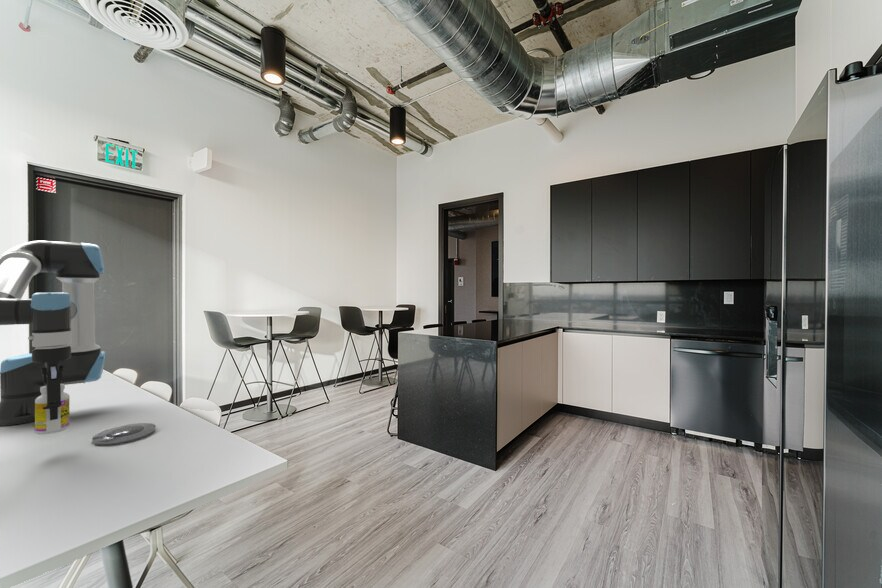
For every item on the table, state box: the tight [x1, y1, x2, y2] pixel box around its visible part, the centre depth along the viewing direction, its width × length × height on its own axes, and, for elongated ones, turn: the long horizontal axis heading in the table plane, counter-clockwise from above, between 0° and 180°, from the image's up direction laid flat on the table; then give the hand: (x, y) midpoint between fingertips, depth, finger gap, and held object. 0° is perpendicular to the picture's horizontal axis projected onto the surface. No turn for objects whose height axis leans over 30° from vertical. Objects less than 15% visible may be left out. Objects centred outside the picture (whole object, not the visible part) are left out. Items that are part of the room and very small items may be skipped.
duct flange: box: [91, 422, 157, 447], centre depth 112 cm, size 15×15×1 cm
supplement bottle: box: [34, 384, 71, 436], centre depth 100 cm, size 7×7×13 cm
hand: (52, 426), depth 100 cm, fingers closed on supplement bottle, 7 cm apart
